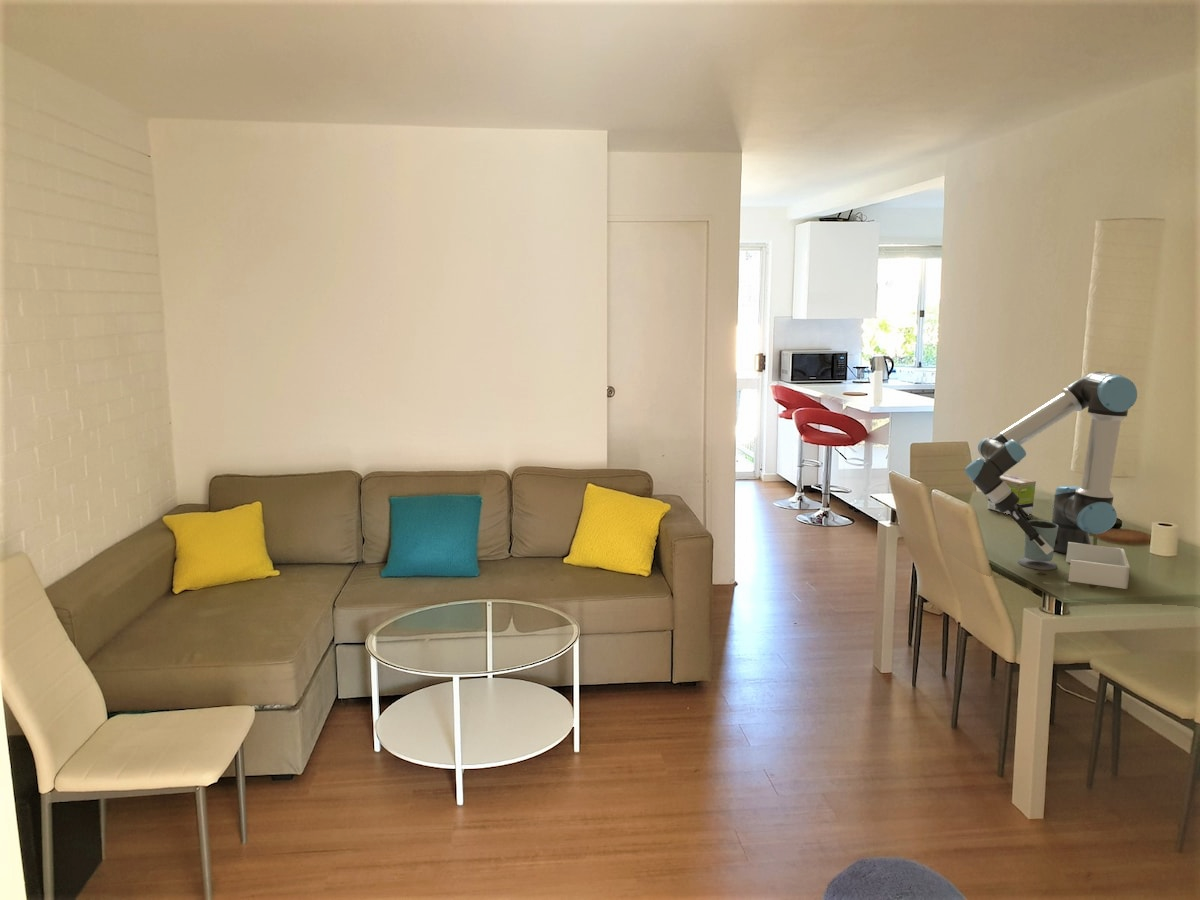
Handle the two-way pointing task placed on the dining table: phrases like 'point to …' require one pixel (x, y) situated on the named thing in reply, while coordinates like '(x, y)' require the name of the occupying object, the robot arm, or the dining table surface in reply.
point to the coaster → (1037, 564)
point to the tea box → (1019, 492)
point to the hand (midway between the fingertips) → (1049, 547)
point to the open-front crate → (1098, 565)
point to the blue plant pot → (1047, 533)
